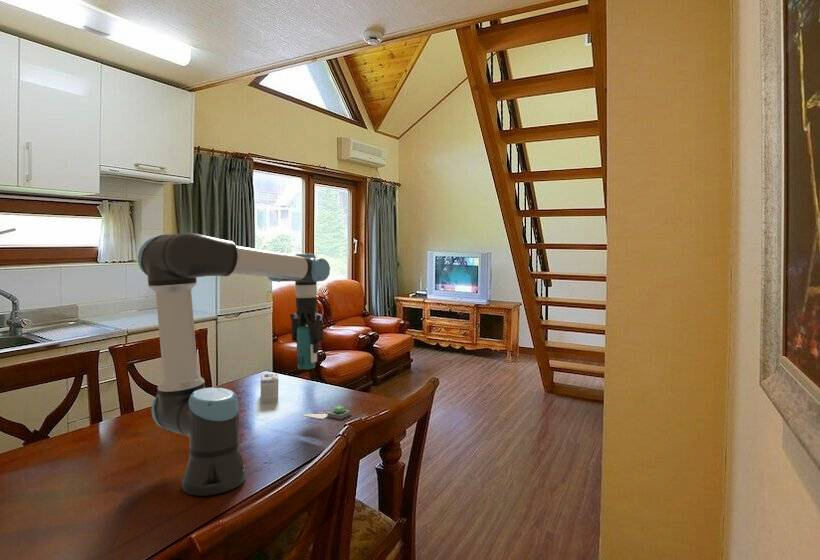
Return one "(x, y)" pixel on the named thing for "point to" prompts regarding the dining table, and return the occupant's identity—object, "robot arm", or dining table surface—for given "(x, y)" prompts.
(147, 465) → the dining table surface
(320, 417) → the cream rectangular board
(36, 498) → the dining table surface
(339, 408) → the button
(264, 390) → the light bulb box
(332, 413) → the button box
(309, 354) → the beverage bottle
